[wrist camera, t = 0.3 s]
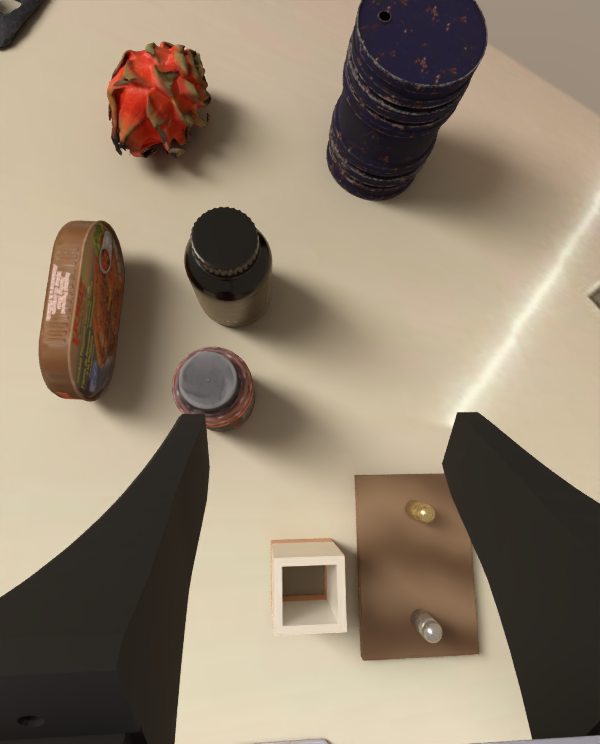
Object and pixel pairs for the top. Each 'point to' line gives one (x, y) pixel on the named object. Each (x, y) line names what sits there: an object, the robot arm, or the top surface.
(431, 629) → the steel pin
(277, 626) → the sleeve
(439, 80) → the dark blue cylinder
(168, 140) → the dragon fruit
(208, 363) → the supplement bottle
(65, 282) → the tin
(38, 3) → the dark slate chunk
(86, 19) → the top surface
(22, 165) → the top surface
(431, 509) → the brass pin
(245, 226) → the supplement bottle
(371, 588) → the board
